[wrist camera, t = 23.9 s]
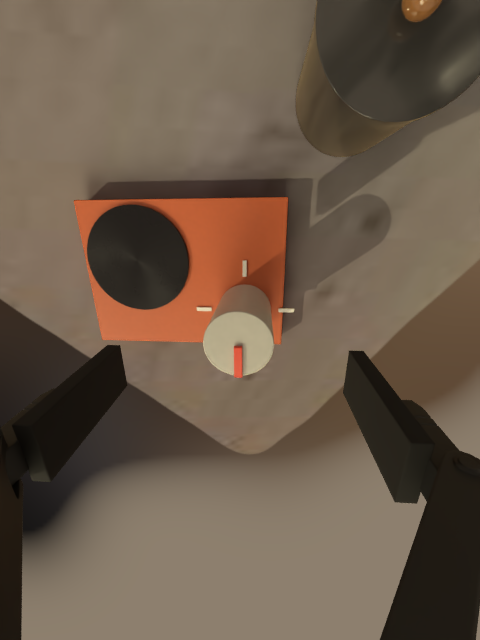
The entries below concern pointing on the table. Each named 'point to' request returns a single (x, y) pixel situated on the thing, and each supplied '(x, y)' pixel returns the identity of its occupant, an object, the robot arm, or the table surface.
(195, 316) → the hot plate
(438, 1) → the enamel pot
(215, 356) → the hob knob
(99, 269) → the burner
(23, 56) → the table surface
